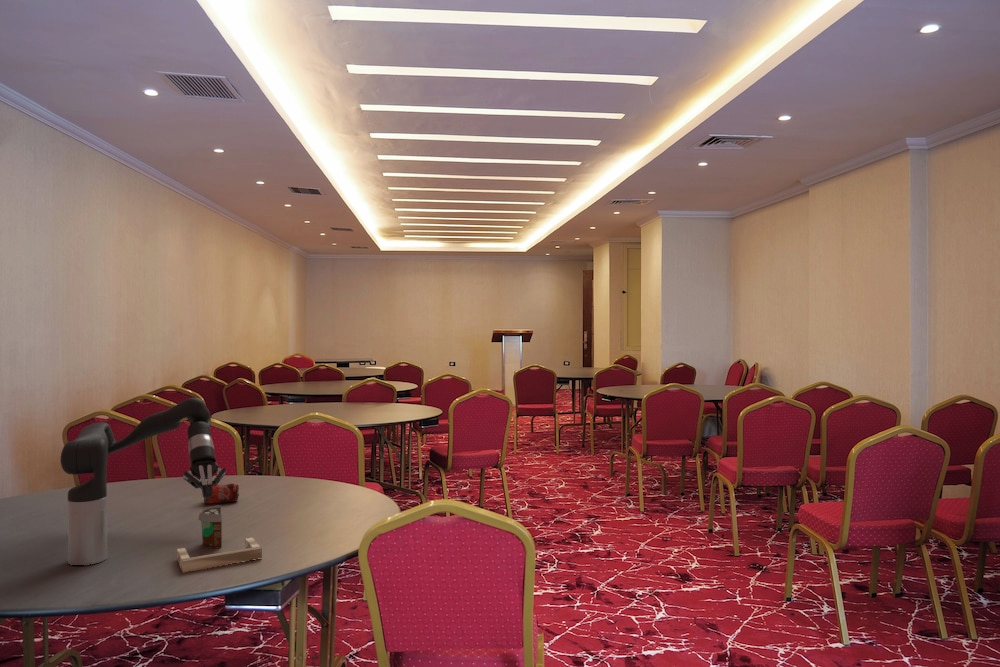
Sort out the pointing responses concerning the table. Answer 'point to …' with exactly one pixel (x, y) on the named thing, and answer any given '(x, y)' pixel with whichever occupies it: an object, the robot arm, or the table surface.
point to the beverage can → (223, 493)
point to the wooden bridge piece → (219, 557)
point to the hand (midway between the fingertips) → (208, 497)
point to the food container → (211, 526)
